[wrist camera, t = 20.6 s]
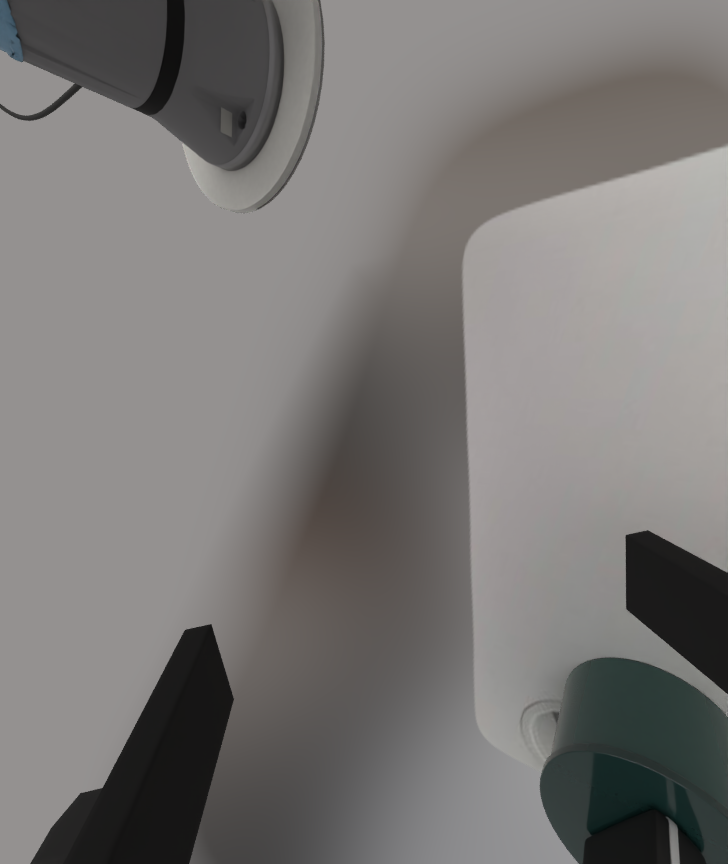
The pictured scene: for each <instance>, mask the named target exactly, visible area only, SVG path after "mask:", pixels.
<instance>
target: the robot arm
mask: <svg viewBox="0 0 728 864" xmlns="http://www.w3.org/2000/svg"><path fill="white" fill-rule="evenodd" d="M0 50H2V51H4V52H7V53H8V55H9V56H10V57H11V58H13V59H15V60H17V61H20V62H23V61H25V62H27V63H30V64H32V65H34V66H37V67H39V68H41V69H43V70H46V71H48V72H50V73H53V74H55V75H57V76H60V77H62V78H64V79H66V80H69V81H71V82H73V83H75V84H74V85H73V86H72V87H71V88H70V89H69V90H68V91H67V92H65V93H64V94H63V95H62V96H61V97H60V98H59V99H58V100H57V101H55V102H54V103H53V104H52V105H50V106H49V107H48V108H46V109H45V110H43V111H42V112H39V113H37V114H34V115H30V116H23V115H18V114H16V113H13V112H11V111H10V110H8V109H6V108H5V107H4V106H2V105H1V104H0V108H1V109H2V110H3V111H5V112H6V113H8V114H9V115H11V116H13V117H15V118H18V119H21V120H28V121H31V120H37V119H40V118H43V117H45V116H47V115H49V114H50V113H52V112H53V111H54V110H56V109H57V108H58V107H60V106H61V105H62V104H63V103H65V102H66V101H67V100H68V99H69V98H70V97H72V95H74V94H75V93H76V92H77V91H78V90H79V89H80V88H82V87H84V88H87V89H89V90H91V91H94V92H96V93H98V94H100V95H103V96H105V97H107V98H110V99H112V100H114V101H116V102H119V103H121V104H123V105H125V106H128V107H130V108H133V109H135V110H137V111H140V112H142V113H144V114H146V115H148V116H150V117H152V118H154V119H155V120H157V121H158V122H159V123H160V124H161V125H162V126H164V127H165V128H166V129H167V130H168V131H170V132H171V133H172V134H173V135H175V136H176V137H177V138H178V139H179V140H180V141H182V142H183V143H184V144H185V145H186V146H188V147H189V148H190V149H191V150H192V151H193V152H195V153H196V154H197V155H198V156H199V157H201V158H202V159H203V160H205V161H206V162H208V163H210V164H212V165H214V166H217V167H219V168H222V169H225V170H229V171H235V170H239V169H241V168H244V167H245V166H247V165H248V164H249V163H250V162H252V161H253V160H254V158H255V157H256V156H257V155H258V154H259V152H260V151H261V149H262V148H263V146H264V144H265V143H266V141H267V139H268V137H269V134H270V132H271V130H272V127H273V125H274V122H275V118H276V115H277V112H278V108H279V103H280V98H281V93H282V86H283V77H284V44H283V35H282V30H281V25H280V20H279V17H278V14H277V11H276V8H275V6H274V3H273V1H272V0H0ZM626 609H627V610H628V611H629V612H630V613H632V614H633V615H634V616H635V617H636V618H638V619H639V620H640V621H641V622H642V623H643V624H645V625H646V626H647V627H648V628H649V629H651V630H652V631H653V632H654V633H655V634H657V635H658V636H659V637H660V638H661V639H663V640H664V641H665V642H666V643H667V644H669V645H670V646H671V647H672V648H673V649H675V650H676V651H677V652H678V653H679V654H681V655H682V656H683V657H684V658H685V659H687V660H688V661H689V662H690V663H691V664H692V665H694V666H695V667H696V668H697V669H698V670H700V671H701V672H702V673H703V674H704V675H706V676H707V677H708V678H709V679H710V680H712V681H713V682H714V683H715V684H716V685H718V686H719V687H720V688H721V689H722V690H724V691H725V692H726V693H727V694H728V573H727V572H725V571H723V570H721V569H719V568H717V567H715V566H713V565H712V564H710V563H708V562H706V561H704V560H702V559H700V558H699V557H697V556H695V555H693V554H691V553H689V552H687V551H685V550H684V549H682V548H680V547H678V546H676V545H674V544H672V543H671V542H669V541H667V540H665V539H663V538H661V537H659V536H657V535H656V534H654V533H652V532H650V531H643V532H638V533H634V534H629V535H626ZM233 700H234V698H233V695H232V691H231V688H230V685H229V681H228V678H227V675H226V672H225V668H224V665H223V662H222V658H221V655H220V652H219V648H218V645H217V642H216V638H215V635H214V632H213V628H212V625H211V624H210V625H205V626H201V627H196V628H192V629H187V630H185V631H184V633H183V635H182V637H181V639H180V641H179V643H178V645H177V646H176V648H175V650H174V652H173V654H172V656H171V658H170V660H169V662H168V664H167V665H166V667H165V670H164V671H163V673H162V675H161V677H160V679H159V681H158V683H157V685H156V687H155V689H154V690H153V692H152V694H151V696H150V698H149V700H148V702H147V704H146V706H145V708H144V710H143V712H142V713H141V716H140V717H139V719H138V721H137V723H136V725H135V727H134V729H133V731H132V733H131V735H130V737H129V739H128V740H127V742H126V744H125V746H124V748H123V750H122V752H121V754H120V756H119V758H118V760H117V762H116V763H115V765H114V767H113V769H112V771H111V773H110V775H109V777H108V779H107V781H106V783H105V785H104V787H103V788H101V789H97V790H93V791H88V792H85V793H80V795H79V796H78V797H77V798H76V799H75V801H74V802H73V803H72V804H71V805H70V806H69V808H68V809H67V810H66V811H65V812H64V814H63V815H62V816H61V817H60V818H59V820H58V821H57V822H56V823H55V824H54V826H53V827H52V828H51V829H50V831H49V833H48V835H47V836H46V838H45V840H44V842H43V843H42V845H41V847H40V848H39V850H38V852H37V853H36V855H35V857H34V859H33V860H32V862H31V864H189V862H190V858H191V855H192V851H193V847H194V843H195V840H196V836H197V833H198V829H199V825H200V822H201V818H202V814H203V810H204V807H205V803H206V800H207V796H208V792H209V789H210V785H211V781H212V777H213V774H214V770H215V767H216V763H217V759H218V755H219V751H220V748H221V745H222V741H223V737H224V733H225V730H226V726H227V722H228V719H229V715H230V711H231V707H232V704H233Z"/></svg>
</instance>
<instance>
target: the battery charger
mask: <svg viewBox="0 0 728 864" xmlns="http://www.w3.org/2000/svg"><path fill="white" fill-rule="evenodd" d="M583 864H706V861H705V858H704V856H703V855H702V854H701V852H700V851H699V849H698V848H697V847H696V846H695V845H694V844H693V843H692V841H691V840H690V839H689V838H688V837H687V836H686V835H685V834H684V833H683V832H681V831H680V830H679V829H678V828H677V825H676V824H675V823H674V822H673V821H672V820H671V819H670V818H668V817H665V816H664V815H663V814H662V813H660V812H659V811H657V810H650V811H647V812H645V813H642V814H639V815H637V816H634V817H632V818H630V819H627V820H625V821H622V822H620V823H618V824H616V825H614V826H611V827H609V828H607V829H605V830H603V831H601V832H599V833H597V834H595V835H593V836H591V837H589V838H587V839H586V840H585V844H584V856H583Z"/></svg>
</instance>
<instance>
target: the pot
mask: <svg viewBox="0 0 728 864" xmlns="http://www.w3.org/2000/svg"><path fill="white" fill-rule="evenodd" d="M540 793H541V799H542V802H543V806H544V809H545V812H546V814H547V817H548V819H549V821H550V822H551V824H552V827H553V829H554V830H555V832H556V833H557V835H558V837H559V838H560V840H561V841H562V843H563V844H564V845H565V847H566V848H567V850H568V851H569V852H570V853H571V854H572V856H573V857H574V858H575V859H576V861H577V862H578V863H579V864H583V856H584V844H585V840H586V839H587V838H589V837H591V836H593V835H595V834H597V833H599V832H601V831H603V830H605V829H607V828H609V827H611V826H614V825H616V824H618V823H620V822H622V821H625V820H627V819H630V818H632V817H634V816H637V815H639V814H642V813H645V812H647V811H650V810H657V811H659V812H660V813H662V814H663V815H664V816H665V817H668V818H670V819H671V820H672V821H673V822H674V823H675V824H676V825H677V828H678V829H679V830H680V831H681V832H683V833H684V834H685V835H686V836H687V837H688V838H689V839H690V840H691V841H692V843H693V844H694V845H695V846H696V847H697V848H698V849H699V851H700V852H701V854H702V855H703V856H704V858H705V861H706V864H728V717H727V716H726V715H725V714H724V713H723V712H722V711H721V710H720V709H719V708H718V707H717V706H716V705H715V704H714V703H713V702H712V701H711V700H710V699H709V698H707V697H706V696H705V695H704V694H702V693H701V692H700V691H698V690H697V689H696V688H694V687H693V686H691V685H690V684H688V683H687V682H685V681H683V680H681V679H680V678H678V677H676V676H674V675H672V674H670V673H668V672H666V671H664V670H662V669H659V668H656V667H654V666H651V665H648V664H645V663H641V662H638V661H633V660H628V659H621V658H600V659H594V660H590V661H587V662H585V663H583V664H581V665H579V666H578V667H576V668H575V669H574V670H573V671H572V672H571V673H570V675H569V677H568V678H567V681H566V684H565V688H564V693H563V698H562V703H561V708H560V713H559V717H558V722H557V727H556V732H555V737H554V741H553V746H552V751H551V755H550V756H549V757H548V758H547V760H546V762H545V763H544V766H543V769H542V773H541V778H540Z"/></svg>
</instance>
